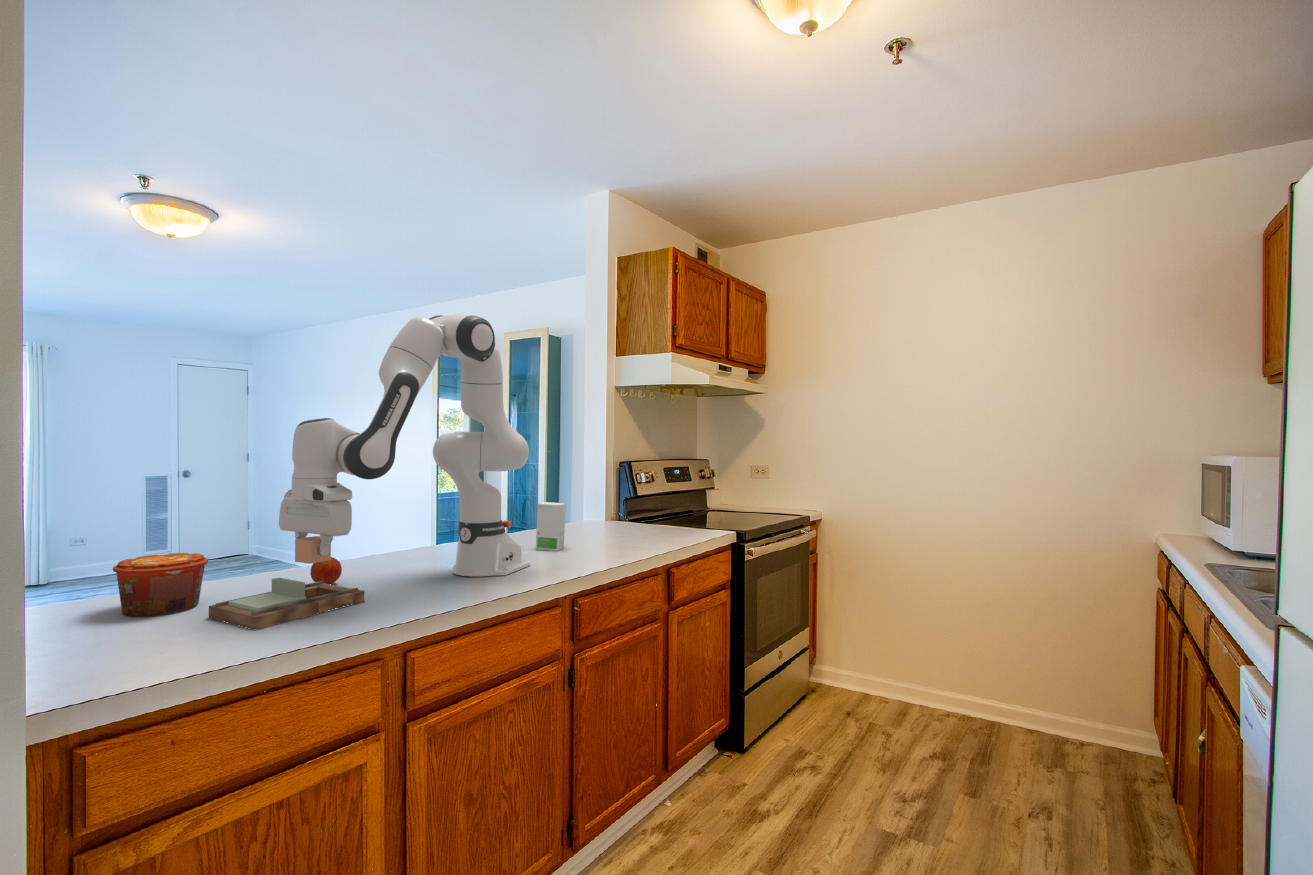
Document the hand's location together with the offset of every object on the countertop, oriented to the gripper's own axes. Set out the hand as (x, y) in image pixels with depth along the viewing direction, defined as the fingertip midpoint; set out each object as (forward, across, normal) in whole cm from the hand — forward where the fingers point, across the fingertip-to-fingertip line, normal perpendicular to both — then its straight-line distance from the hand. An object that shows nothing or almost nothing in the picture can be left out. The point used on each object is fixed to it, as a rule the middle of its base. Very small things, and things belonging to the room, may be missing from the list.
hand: (313, 553), depth 138 cm
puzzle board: (+11, 0, -5) cm, 12 cm away
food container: (+12, -25, -18) cm, 32 cm away
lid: (+9, -1, -10) cm, 13 cm away
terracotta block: (+2, 0, 0) cm, 2 cm away
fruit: (+11, -14, +13) cm, 23 cm away
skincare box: (+11, +3, +83) cm, 84 cm away
